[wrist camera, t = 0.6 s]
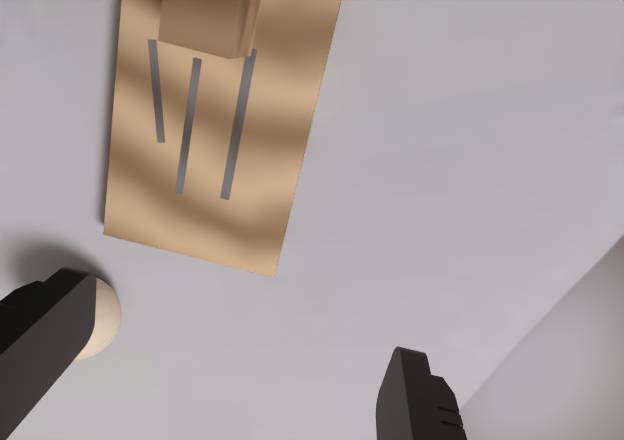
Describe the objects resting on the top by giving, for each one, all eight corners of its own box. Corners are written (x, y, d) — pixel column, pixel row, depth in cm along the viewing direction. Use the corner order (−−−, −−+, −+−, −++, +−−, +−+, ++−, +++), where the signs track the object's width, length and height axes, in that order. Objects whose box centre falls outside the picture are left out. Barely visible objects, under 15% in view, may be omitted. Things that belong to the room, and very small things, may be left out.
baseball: (38, 278, 40) (-19, 321, 34) (107, 250, 39) (60, 290, 32) (81, 339, 42) (35, 390, 36) (148, 315, 41) (111, 364, 34)
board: (139, -112, 29) (130, -119, 28) (354, -55, 29) (354, -59, 28) (110, 228, 38) (103, 234, 37) (276, 270, 38) (273, 277, 37)
